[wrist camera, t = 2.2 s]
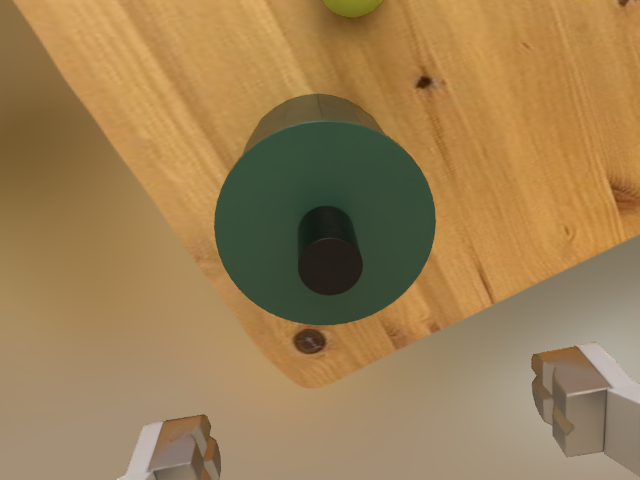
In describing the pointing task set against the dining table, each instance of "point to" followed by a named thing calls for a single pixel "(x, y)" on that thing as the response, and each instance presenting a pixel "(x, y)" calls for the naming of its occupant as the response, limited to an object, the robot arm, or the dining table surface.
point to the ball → (352, 7)
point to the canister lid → (324, 222)
